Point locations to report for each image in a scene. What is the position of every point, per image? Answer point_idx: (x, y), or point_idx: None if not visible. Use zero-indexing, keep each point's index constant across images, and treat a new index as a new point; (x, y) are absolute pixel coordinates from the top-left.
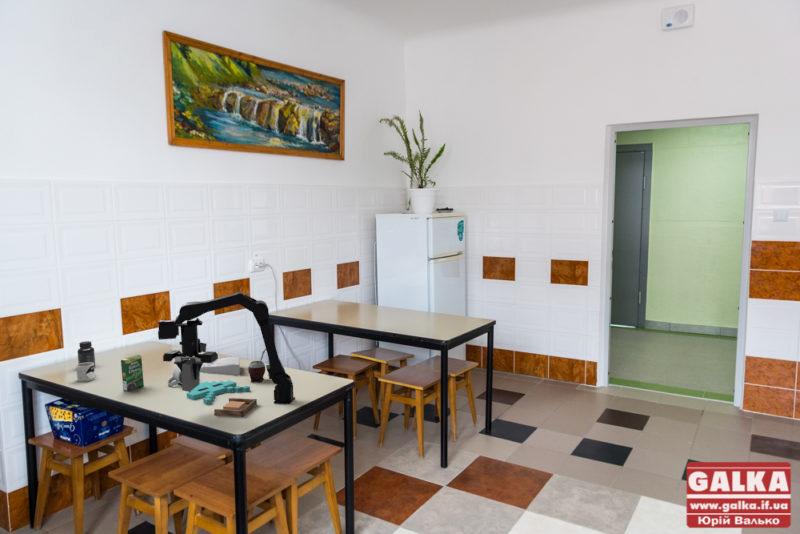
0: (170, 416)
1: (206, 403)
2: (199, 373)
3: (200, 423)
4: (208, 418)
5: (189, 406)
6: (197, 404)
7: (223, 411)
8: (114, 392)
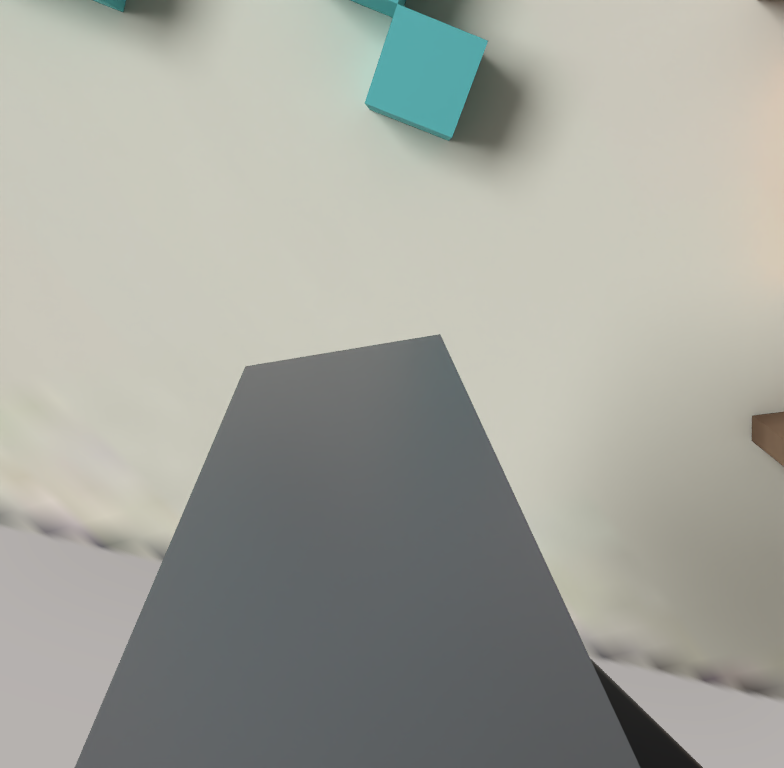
0: None
1: (442, 137)
2: (504, 481)
3: (712, 662)
4: (729, 537)
5: (264, 272)
6: (315, 173)
7: None
8: None
